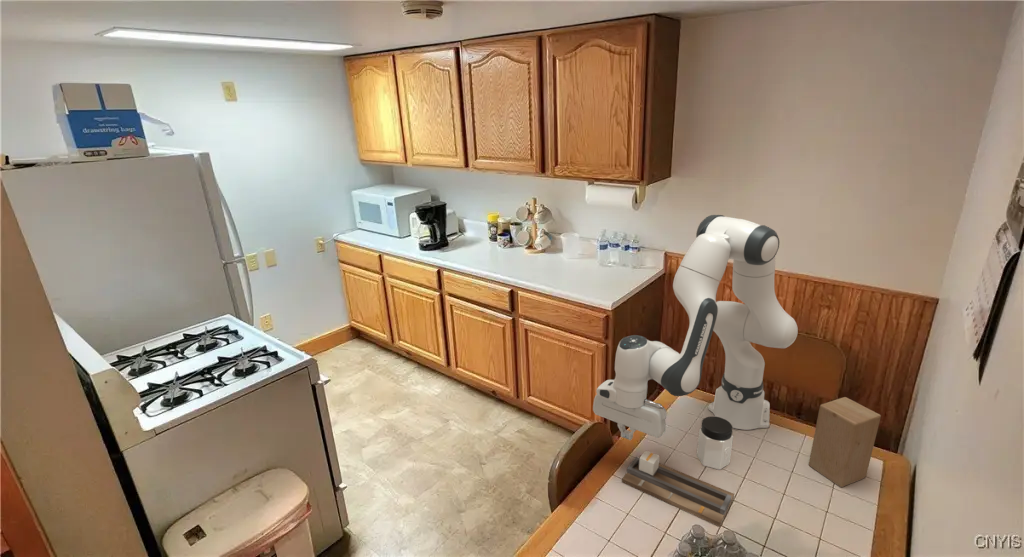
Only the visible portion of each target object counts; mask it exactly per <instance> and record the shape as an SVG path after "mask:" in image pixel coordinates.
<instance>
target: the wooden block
mask: <svg viewBox="0 0 1024 557" xmlns="http://www.w3.org/2000/svg"><path fill="white" fill-rule="evenodd" d="M881 417H882V415H881V414H880V413H877V412H875V411H874V410H872V409H870V408H868V407H865V406H864V405H862V404H860V403H858V402H857V401H855V400H852V399H850V398H849V397H846V396H844V397H839V398H837V399H834V400H831V401H829V402H825V403H821V404H820V405H819V410H818V414H817V419H816V425H815V428H814V429H815V431H814V434H813V440H812V445H811V448H810V449H811V450H810V455H809V460H808V466H809V467H810V468H812V469H814V470H815V471H817V472H818V473H819V474H821V475H822V476H824V477H825V478H826V479H828V480H829V481H831V482H832V483H834V484H835V485H837V486H838V487H839V488H843V487H846V486H848V485H851V484H853V483H856V482H858V481H860V480H863V479H865V478H867V474H868V470H869V466H870V462H871V458H872V455H873V454H872V453H873V450H874V446H875V441H876V437H877V434H878V430H879V426H880V421H881Z"/></svg>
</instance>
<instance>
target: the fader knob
mask: <svg viewBox="0 0 1024 557" xmlns="http://www.w3.org/2000/svg"><path fill="white" fill-rule="evenodd" d="M639 457H640V456H639ZM659 463H660V455H658V454H655V453H653V452H650V451H648V450H645V451H643V453H642V455H641V457H640V460H639V470H640V471H641V472H643V473H646V474H648V475H650V476H653V477H654V475H655V474H656V472H657V469H658V468H659Z"/></svg>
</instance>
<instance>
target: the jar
mask: <svg viewBox="0 0 1024 557" xmlns="http://www.w3.org/2000/svg"><path fill="white" fill-rule="evenodd" d="M700 426H701V427H700V428H699V429H698V430H699V431H698V438H697V447H696V448H697V449H696V457H697V458H698V460H699V461H700V462H701V464H702V466H703V467H708V468H712V469H715V470H722V469H723V468H725V467H726V466H728V465H730V463H731V455H732V449H733V442H734V441H733V440H734V435H733V429H734V428H733V427H732V425H731V423H730V422H728V421H727V420H725V419H723V418H720V417H715V415H714V416H712V415H711V416H706V417H704V418H703V419H702V420H701V425H700Z"/></svg>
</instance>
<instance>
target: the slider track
mask: <svg viewBox="0 0 1024 557" xmlns="http://www.w3.org/2000/svg"><path fill="white" fill-rule="evenodd" d="M641 456H642V455H639V456H635V458H634V459H633V460H632V462H630V464H629V465H628V466H627V467H626V473H625V474H624V476H623V477H622V478H621V483H622V484H625V485H627V486H629V487H631V488H634V489H636V490H638V491H639V492H642V493H645V494H647V495H648V496H651V497H654V498H656V499H658V500H660V501H663V502H665V503H667V504H669V505H671V506H673V507H675V508H678V509H679V510H682V511H684V512H686V513H689V514H691V515H692V516H695V517H696V518H697V517H698V518H700V519H701V520H704V521H706V522H708V523H710V524H713V525H715V526H718V527H720V528H721V525H722V523H723V521H724V519H725V517H726V515H727V512H728V510H729V508H730V507H731V504H732V502H733V500H734V498H735V497H734V496H735V493H734V492H731V491H728V490H726V489H723V488H721V487H718V486H717V485H713V484H711V483H709V482H706V481H705V480H701V479H699V478H697V477H694V476H692V475H689V474H687V473H684V472H682V471H679V470H677V469H675V468H673V467H669V466H667V465H665V464H662V463H660V462H659V468H658V469H657V472H656V474H655V475H654V477H653V476H650V475H648V474H646V473H643V472H641V471H640V470H639V460H640V457H641Z"/></svg>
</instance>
